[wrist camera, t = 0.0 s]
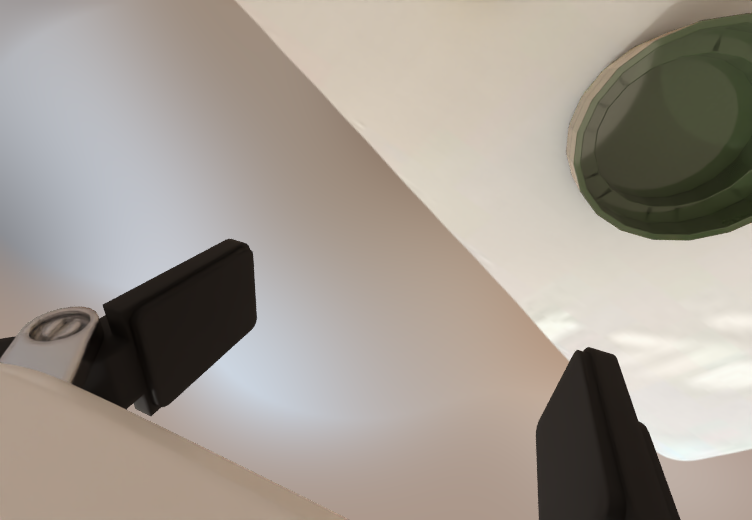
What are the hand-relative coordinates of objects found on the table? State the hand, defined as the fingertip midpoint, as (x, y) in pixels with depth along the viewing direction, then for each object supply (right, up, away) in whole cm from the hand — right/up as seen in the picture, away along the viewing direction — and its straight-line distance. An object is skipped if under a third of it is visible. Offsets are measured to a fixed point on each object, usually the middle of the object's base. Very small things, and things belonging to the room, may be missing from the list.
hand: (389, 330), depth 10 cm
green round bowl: (+25, +13, +20) cm, 35 cm away
